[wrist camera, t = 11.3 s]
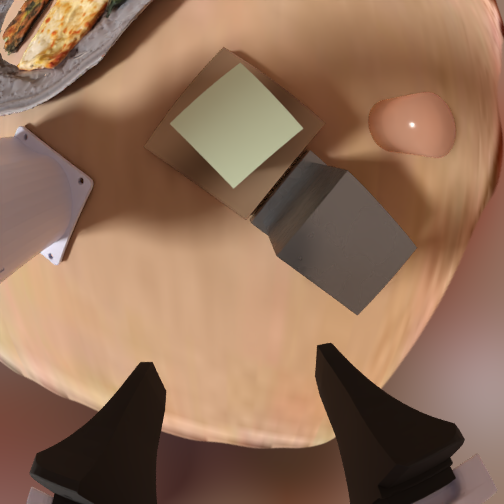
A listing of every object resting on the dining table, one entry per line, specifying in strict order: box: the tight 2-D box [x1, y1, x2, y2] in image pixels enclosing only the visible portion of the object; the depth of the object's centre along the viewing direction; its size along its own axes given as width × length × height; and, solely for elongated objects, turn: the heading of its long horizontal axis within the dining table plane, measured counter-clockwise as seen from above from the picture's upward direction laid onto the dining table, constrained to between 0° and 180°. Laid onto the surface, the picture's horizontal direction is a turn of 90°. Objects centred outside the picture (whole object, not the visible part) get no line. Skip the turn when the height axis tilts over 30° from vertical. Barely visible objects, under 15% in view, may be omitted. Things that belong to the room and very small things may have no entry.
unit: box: [250, 150, 417, 315], centre depth 15 cm, size 7×6×6 cm
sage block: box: [170, 63, 303, 189], centre depth 13 cm, size 4×4×5 cm
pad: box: [144, 47, 325, 220], centre depth 15 cm, size 8×8×1 cm
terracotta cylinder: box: [368, 92, 456, 158], centre depth 14 cm, size 4×4×5 cm
